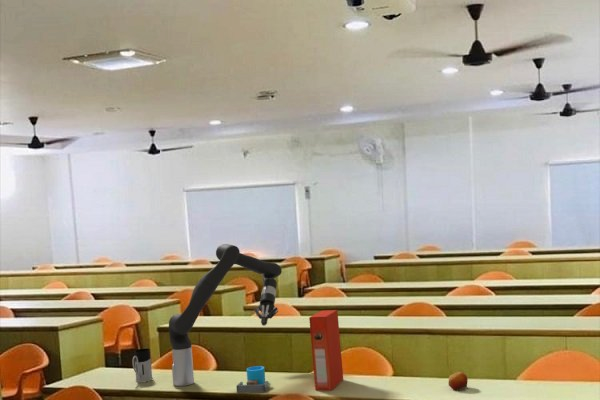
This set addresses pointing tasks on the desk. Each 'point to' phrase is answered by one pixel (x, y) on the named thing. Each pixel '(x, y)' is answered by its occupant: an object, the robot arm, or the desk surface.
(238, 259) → the robot arm
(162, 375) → the desk surface
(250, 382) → the tile
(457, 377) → the fruit
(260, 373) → the mug
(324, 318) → the file binder
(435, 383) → the desk surface
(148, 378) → the grey handled cylinder
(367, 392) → the desk surface
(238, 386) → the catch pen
